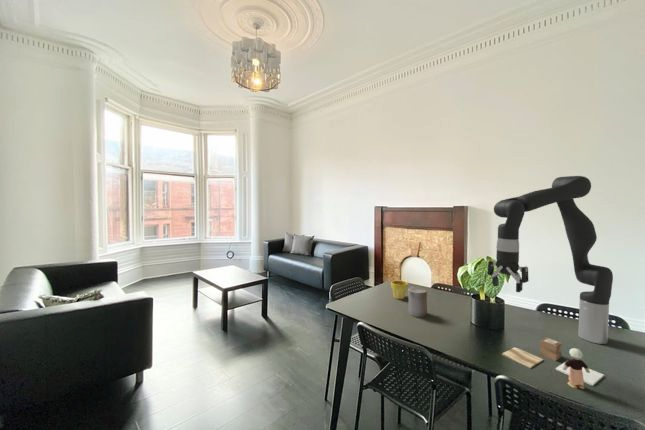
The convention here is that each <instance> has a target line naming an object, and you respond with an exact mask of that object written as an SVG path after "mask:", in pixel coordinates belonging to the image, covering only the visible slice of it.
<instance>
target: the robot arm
mask: <svg viewBox="0 0 645 430" xmlns="http://www.w3.org/2000/svg"><path fill="white" fill-rule="evenodd" d="M591 189H592V183H591V180H590V179H589V178H588V177H587V176H582V175H570V176H566V175H565V176H558V177H556V178H555V179H554V180H553V181H552V184H551V187H550V188H549V187H548V188H544V189H538V190H533V191H531V192H528V193H525V194H521V195H519V196H515V197H511V198H510V197H508V198H505V199H502V200H499V201H498V202H496V203H495V205H494V207H493V212H494V214H495V215H496V216H497V217H499V218H503V219H504V218H505V219H506V220H505V223H500V224H499V225H498V227H497V240H496V255H495V256H496V261H494V260H489V261H488V263H487V272H486V273H487V275H488V276H491V278H492V279H491V280H492V281H491V282H492V283H491V284H492V285H493V287H494V288H495V287H498V286H499V276H500V275H501V274H502V275H507V276H511V277H512V279H514V280H515V292H516V293H521V292H522V291H523V285H524V284H526V283H528V282H529V281H530V280H529V267H528V266H520V263H519V262H520V261H519V259H520V241H519V240H520V238H519V235H520V234H519V233H520V227H521V224H522V222H523V218H524V215H525V213H526V212H530V211H534V210H537V209H540V208H542V207H547V206H548V205H551V204H557V208H558V209H559V213H560V215H561V218H562V222H563V226H564V229H565V234H566V237H567V239H568V243H569V246H570V251H571V256H572V264H573V270H574V271H573V272H574V274H575V278H576V280H577V281H578V282H579V283H581V284H584V285H588V286H592V287H594V288H593V290H592V291H589V290H588V291H581V292H580V294H579V309H578V312H579V313H578V334H577V335H578V337H579V338H581V339H582V340H585V341H586V342H591V343H594V344H601V345H605V344H608V339H609V338H608V337H609V315H610V301H611V297H612V290H613V289H612V288H613V282H614V280H613V279H614V275H613V271H612V270H611V268H609V267H606V266H604V265H603V266H601V265H597V264H591V263H590V261H589V252H590V251H591V249H592V248H593V247H594V245H595V243H596V241H597V232H596V229H595V225H594V223H593V221H592V220H591V219H590V218H589V217H588V216H587V215H586V214H585V213H584V212H583V211H582V210H581V209H580V208H579V207H578V205H577V204H576V202H575V200H574V199H579V198H583V197H586V196H587V195H588V194H589V193H590V192H591ZM495 267H496V268H497V269H495ZM494 270H495V271H494ZM519 271H520V272H521V274H520V273H519Z"/></svg>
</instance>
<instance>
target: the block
mask: <svg viewBox="0 0 645 430" xmlns="http://www.w3.org/2000/svg"><path fill="white" fill-rule="evenodd" d="M539 343H540V344H539V347H540V348H539V355H540V356H542V357H545V358H547V359H549V360H552V361H554V362H557V361H558V360H559V359H561V358H562V346H563V345H562V344H563V343H562V342H560V341H557V340H555V339H553V338H550V337H544V338H543V339H540V342H539Z"/></svg>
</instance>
